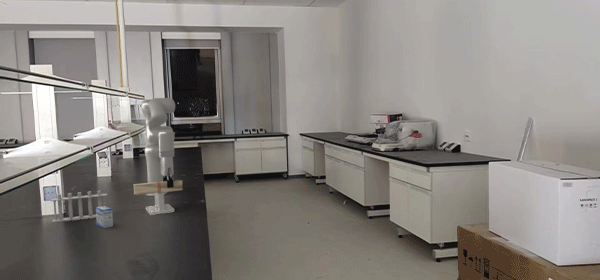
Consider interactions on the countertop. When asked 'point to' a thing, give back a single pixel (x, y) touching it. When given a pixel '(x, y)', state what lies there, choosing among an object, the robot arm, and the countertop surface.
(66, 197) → the grey picket fence
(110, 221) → the medicine box
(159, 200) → the ridge stand
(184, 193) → the countertop surface
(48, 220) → the countertop surface
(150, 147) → the robot arm
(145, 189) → the pine beam
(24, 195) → the countertop surface
